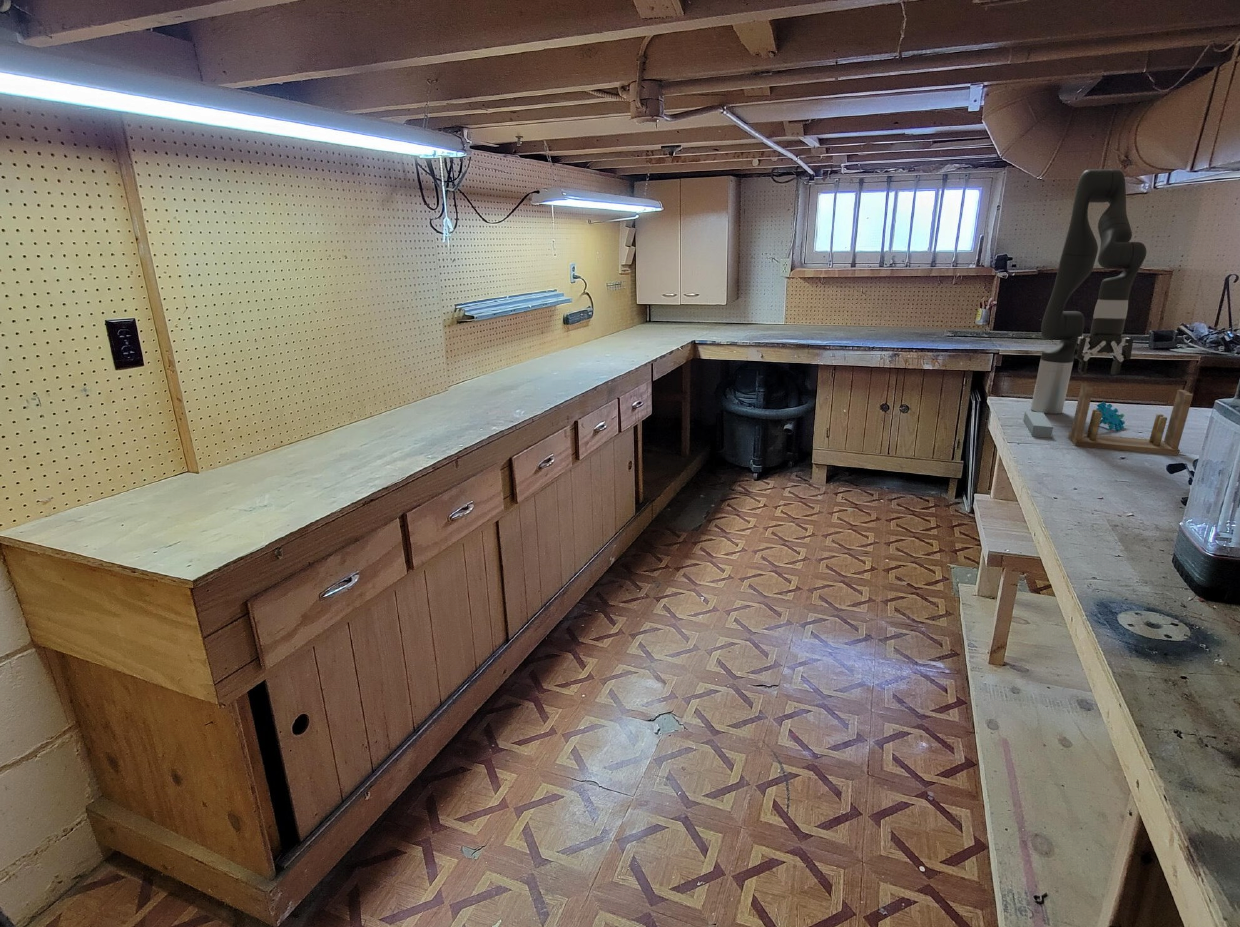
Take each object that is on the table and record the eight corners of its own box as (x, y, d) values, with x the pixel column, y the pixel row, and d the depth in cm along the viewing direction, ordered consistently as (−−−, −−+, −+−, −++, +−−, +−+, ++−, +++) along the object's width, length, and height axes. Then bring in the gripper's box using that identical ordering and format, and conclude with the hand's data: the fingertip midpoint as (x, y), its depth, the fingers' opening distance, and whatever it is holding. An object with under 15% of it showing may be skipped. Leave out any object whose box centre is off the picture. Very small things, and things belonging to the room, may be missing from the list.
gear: (1109, 428, 201) (1094, 399, 205) (1092, 437, 206) (1077, 409, 210) (1134, 429, 204) (1119, 401, 209) (1116, 438, 209) (1102, 411, 214)
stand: (1068, 437, 197) (1080, 382, 192) (1166, 446, 189) (1182, 389, 183) (1075, 446, 189) (1088, 389, 184) (1178, 455, 181) (1195, 396, 175)
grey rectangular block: (1022, 421, 215) (1025, 411, 214) (1040, 423, 213) (1043, 412, 212) (1031, 436, 199) (1033, 425, 198) (1050, 438, 198) (1053, 427, 196)
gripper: (1128, 316, 190) (1116, 373, 194) (1075, 315, 191) (1064, 371, 196) (1145, 317, 183) (1132, 376, 187) (1090, 316, 184) (1078, 375, 189)
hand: (1097, 374), depth 192 cm, fingers open, 8 cm apart
